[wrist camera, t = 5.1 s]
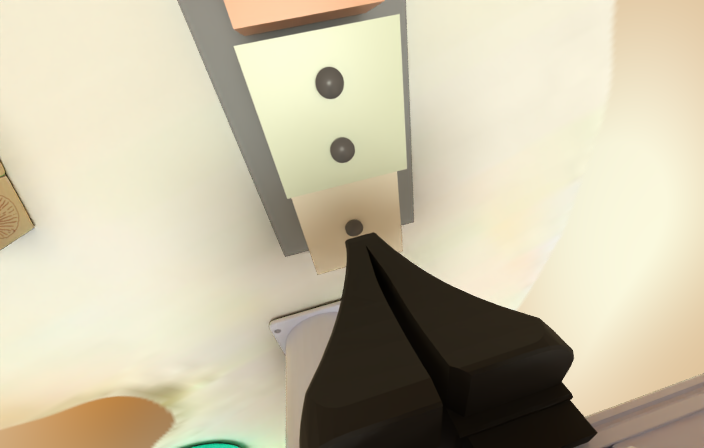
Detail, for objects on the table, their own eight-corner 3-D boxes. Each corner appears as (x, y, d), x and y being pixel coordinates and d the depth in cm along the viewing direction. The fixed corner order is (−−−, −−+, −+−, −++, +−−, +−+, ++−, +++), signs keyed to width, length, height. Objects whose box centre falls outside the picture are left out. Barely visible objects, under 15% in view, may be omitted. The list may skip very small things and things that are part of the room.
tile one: (388, 227, 17) (404, 253, 14) (313, 247, 16) (318, 277, 14) (380, 153, 14) (398, 170, 12) (289, 175, 13) (290, 198, 11)
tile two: (387, 151, 13) (409, 170, 10) (287, 175, 12) (287, 201, 10) (375, 24, 10) (402, 12, 8) (245, 49, 9) (231, 45, 7)
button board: (408, 214, 18) (427, 238, 16) (285, 247, 18) (285, 278, 15) (387, -191, 9) (426, -289, 6) (118, -160, 8) (45, -257, 6)
